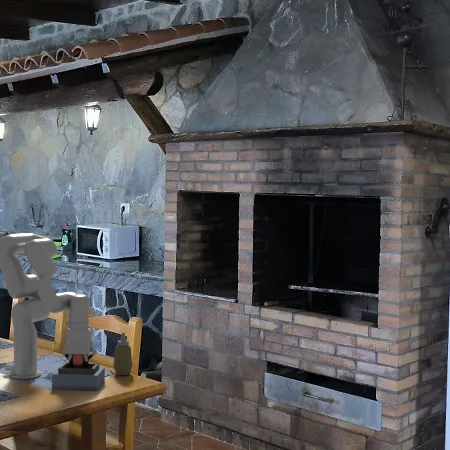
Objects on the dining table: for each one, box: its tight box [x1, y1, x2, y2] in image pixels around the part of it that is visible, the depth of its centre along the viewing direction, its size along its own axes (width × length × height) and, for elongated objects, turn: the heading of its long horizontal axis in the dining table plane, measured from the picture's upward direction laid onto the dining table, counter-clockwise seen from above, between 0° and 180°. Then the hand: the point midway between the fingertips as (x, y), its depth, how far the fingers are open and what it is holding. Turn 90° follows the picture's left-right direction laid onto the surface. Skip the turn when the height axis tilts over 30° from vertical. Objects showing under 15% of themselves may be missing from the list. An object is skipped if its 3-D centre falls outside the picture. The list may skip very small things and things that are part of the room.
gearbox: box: [51, 361, 106, 392], centre depth 284 cm, size 18×13×8 cm
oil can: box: [72, 354, 85, 369], centre depth 283 cm, size 5×5×13 cm
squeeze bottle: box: [113, 331, 133, 376], centre depth 302 cm, size 8×8×18 cm
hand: (78, 369), depth 284 cm, fingers closed on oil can, 5 cm apart
